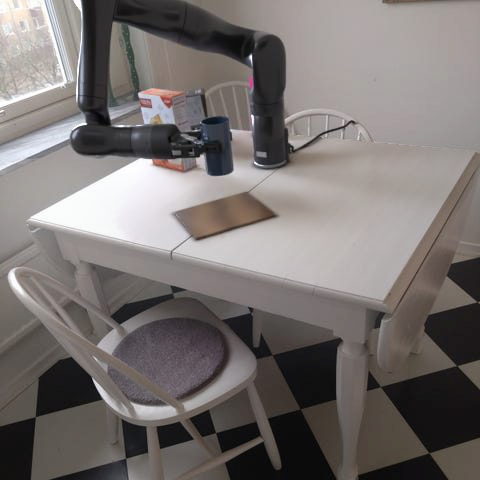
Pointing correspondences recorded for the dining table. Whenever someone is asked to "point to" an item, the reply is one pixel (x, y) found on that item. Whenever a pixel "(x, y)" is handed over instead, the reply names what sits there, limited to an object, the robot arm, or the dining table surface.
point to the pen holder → (217, 132)
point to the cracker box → (167, 118)
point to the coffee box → (196, 106)
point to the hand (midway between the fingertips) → (227, 141)
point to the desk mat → (222, 215)
